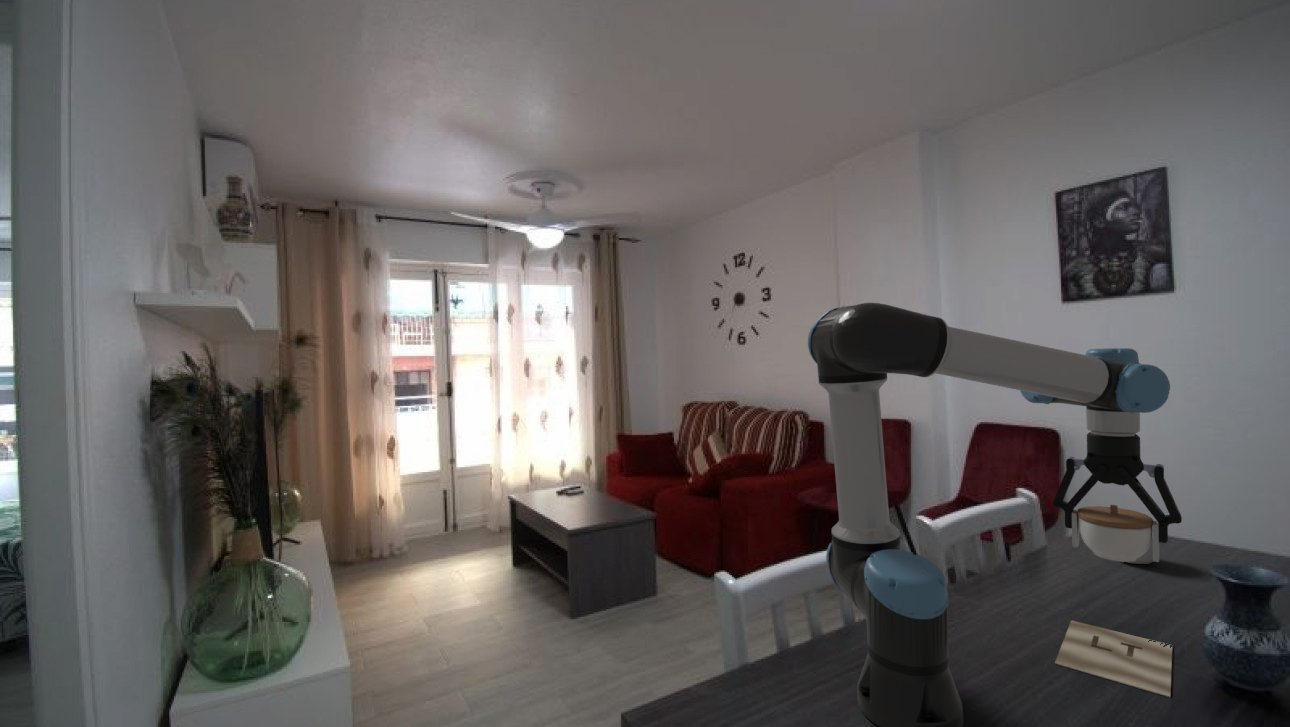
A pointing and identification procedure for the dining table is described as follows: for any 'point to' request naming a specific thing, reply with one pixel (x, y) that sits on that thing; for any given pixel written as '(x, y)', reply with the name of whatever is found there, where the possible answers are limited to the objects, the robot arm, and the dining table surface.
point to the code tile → (1117, 657)
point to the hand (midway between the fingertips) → (1114, 552)
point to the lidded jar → (1115, 532)
